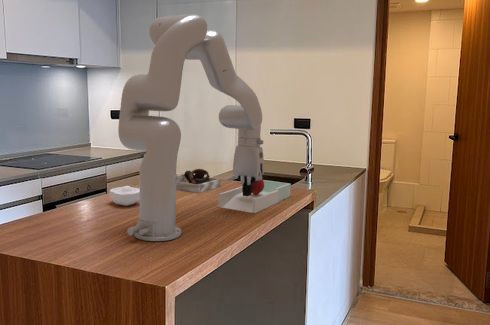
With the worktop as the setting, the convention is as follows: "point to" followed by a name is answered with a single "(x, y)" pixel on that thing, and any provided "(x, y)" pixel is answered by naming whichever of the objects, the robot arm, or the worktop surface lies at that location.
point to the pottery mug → (197, 176)
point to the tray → (281, 187)
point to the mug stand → (196, 188)
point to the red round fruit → (257, 187)
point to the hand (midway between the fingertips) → (246, 195)
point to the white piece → (247, 200)
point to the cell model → (125, 195)
